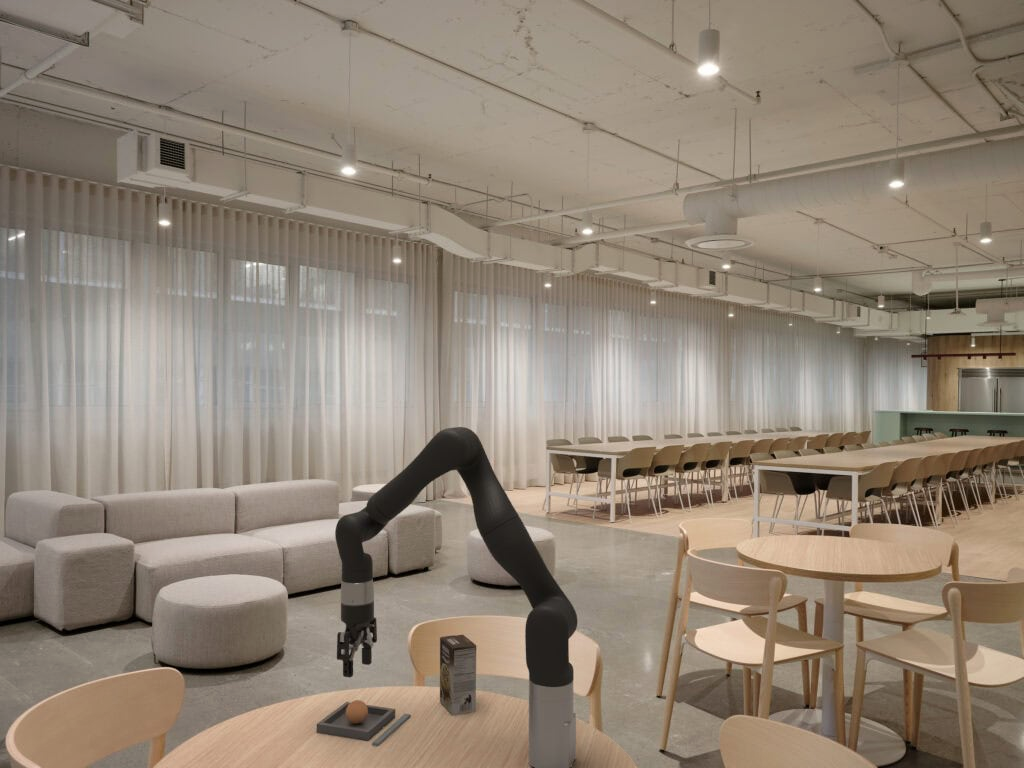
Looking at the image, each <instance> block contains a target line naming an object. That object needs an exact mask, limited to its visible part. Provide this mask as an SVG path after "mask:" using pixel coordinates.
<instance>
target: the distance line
mask: <svg viewBox="0 0 1024 768" xmlns="http://www.w3.org/2000/svg"><path fill="white" fill-rule="evenodd" d="M410 718H411V713H410V714H409V713H404V714H402V715H401V716H400V717H399V718H398V719H397V720H396V721H394V723H392V724H391V725H390V726H389V727H388V728H387V729H386V730H385V731H383V732H382V733H381V734H380V735H379V736H377V738H376V739H374V740H373V741H372V743H371V746H373V747H379V746H380V745H381V744H383V743H384V742H385V741H386V740H387V739H388V738H390V736H392V734H393V733H395V732H396V731H397V730H398V729H399V728H401V726H402V725H403V724H405V723H406V722H407V721H408V720H409V719H410Z"/></svg>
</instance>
